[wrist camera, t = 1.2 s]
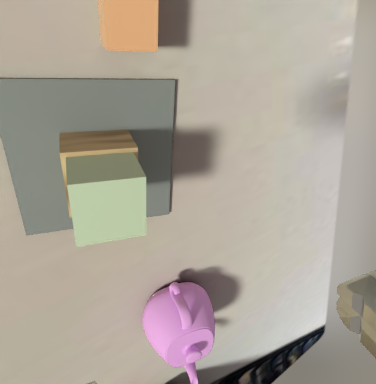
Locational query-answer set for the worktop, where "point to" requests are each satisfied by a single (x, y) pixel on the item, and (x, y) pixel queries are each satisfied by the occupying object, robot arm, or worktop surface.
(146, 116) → the slate mat
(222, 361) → the worktop surface
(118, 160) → the sage top block
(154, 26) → the light orange cube
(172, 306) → the teapot
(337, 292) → the robot arm
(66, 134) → the oak base block
